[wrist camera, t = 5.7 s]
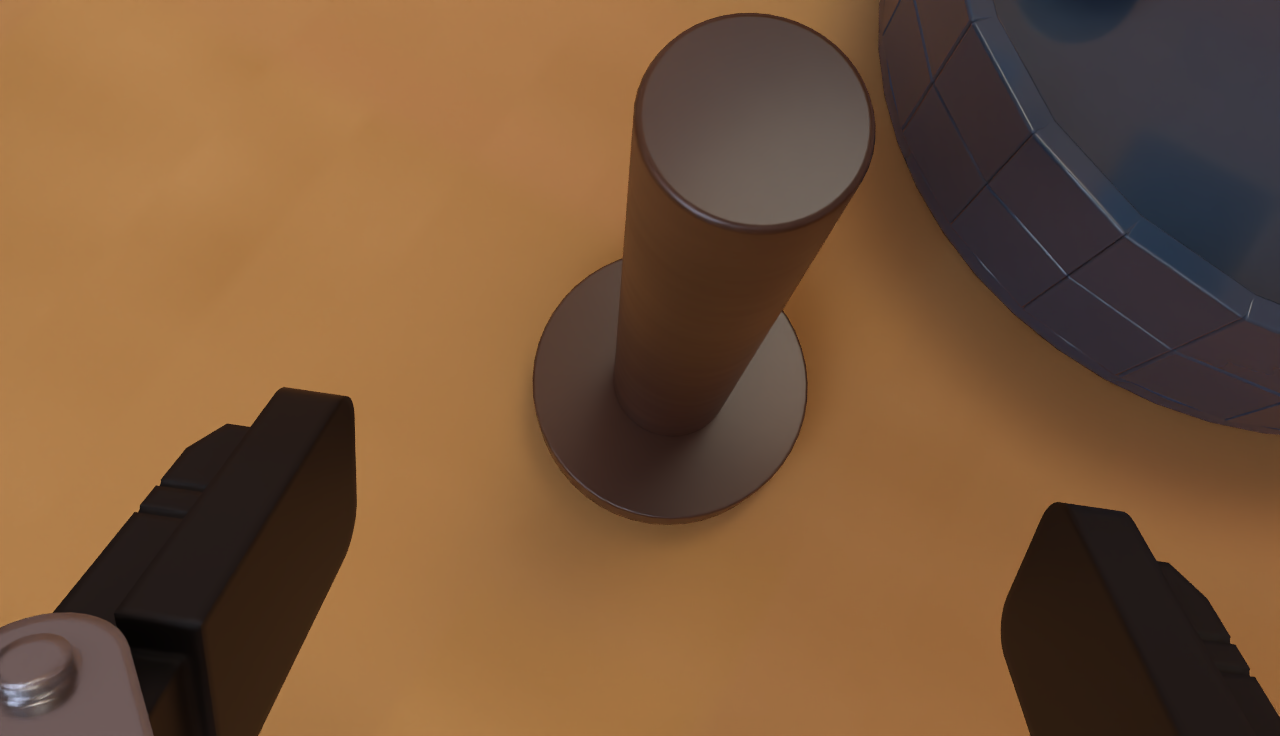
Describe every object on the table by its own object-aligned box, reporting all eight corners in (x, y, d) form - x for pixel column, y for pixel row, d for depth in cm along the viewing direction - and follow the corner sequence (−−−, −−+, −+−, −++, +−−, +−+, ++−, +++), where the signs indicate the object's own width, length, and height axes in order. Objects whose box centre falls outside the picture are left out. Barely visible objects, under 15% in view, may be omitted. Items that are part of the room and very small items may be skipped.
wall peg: (515, 504, 22) (405, 358, 9) (558, 254, 23) (514, -169, 11) (781, 542, 22) (1036, 448, 9) (807, 290, 23) (1055, -89, 11)
